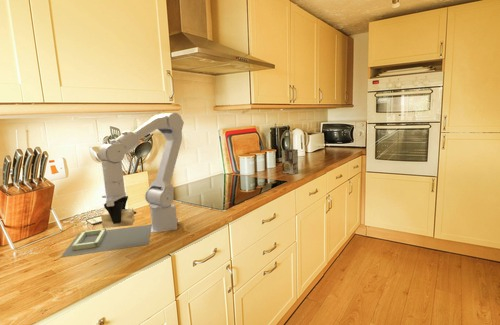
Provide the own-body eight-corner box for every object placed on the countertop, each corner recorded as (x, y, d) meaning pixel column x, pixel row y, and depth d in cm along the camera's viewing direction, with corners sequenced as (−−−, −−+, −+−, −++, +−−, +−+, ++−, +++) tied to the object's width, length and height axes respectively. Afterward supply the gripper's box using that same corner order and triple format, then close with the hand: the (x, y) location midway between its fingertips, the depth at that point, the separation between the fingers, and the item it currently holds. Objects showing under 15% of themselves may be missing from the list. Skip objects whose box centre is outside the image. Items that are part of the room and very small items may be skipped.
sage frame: (106, 232, 109) (105, 228, 109) (97, 246, 97) (97, 242, 97) (83, 235, 108) (83, 231, 107) (72, 250, 96) (71, 246, 95)
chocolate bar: (136, 211, 131) (93, 224, 118) (136, 214, 131) (93, 226, 119) (127, 208, 137) (85, 219, 124) (127, 210, 138) (85, 221, 125)
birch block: (134, 220, 100) (133, 208, 100) (132, 225, 97) (130, 212, 96) (106, 223, 99) (104, 211, 98) (102, 228, 95) (101, 215, 94)
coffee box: (298, 172, 201) (298, 149, 198) (293, 174, 196) (292, 150, 194) (287, 171, 207) (286, 148, 204) (282, 173, 202) (281, 149, 200)
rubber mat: (152, 225, 116) (152, 224, 115) (148, 246, 97) (148, 244, 97) (79, 235, 109) (78, 233, 109) (60, 258, 91) (60, 257, 91)
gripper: (107, 177, 102) (112, 214, 104) (93, 187, 87) (99, 230, 90) (128, 175, 103) (133, 212, 105) (118, 185, 89) (123, 228, 91)
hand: (118, 220), depth 98 cm, fingers closed on birch block, 4 cm apart
